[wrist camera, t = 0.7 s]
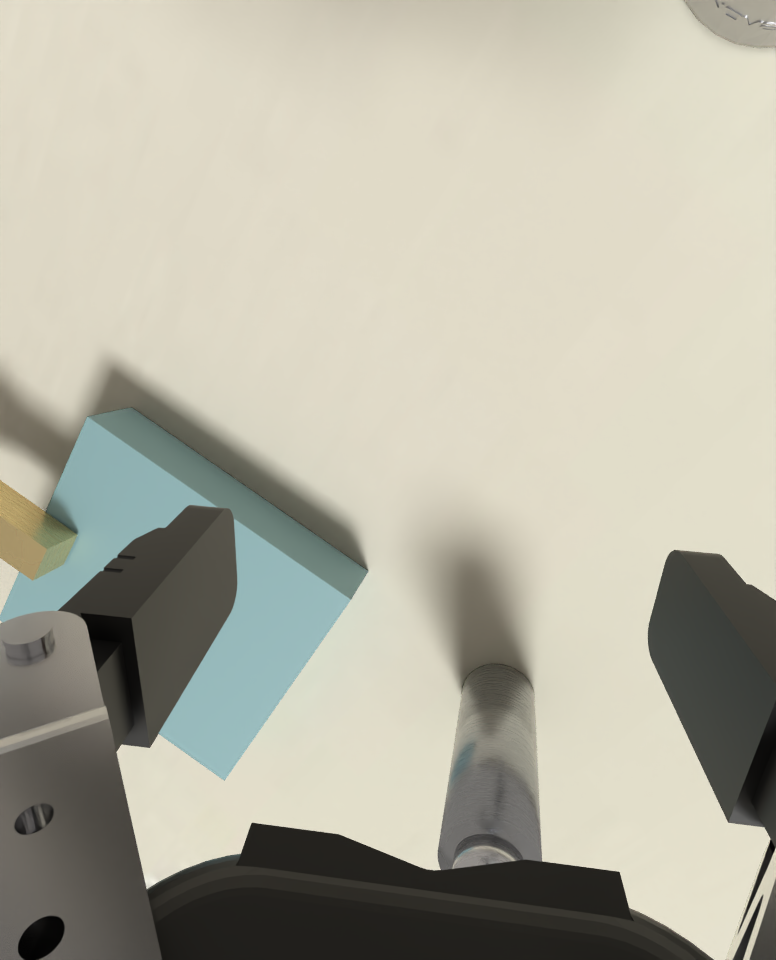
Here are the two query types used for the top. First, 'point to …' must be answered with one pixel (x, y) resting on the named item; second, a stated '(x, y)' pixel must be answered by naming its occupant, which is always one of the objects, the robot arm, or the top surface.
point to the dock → (260, 574)
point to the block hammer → (31, 536)
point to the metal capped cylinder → (493, 774)
